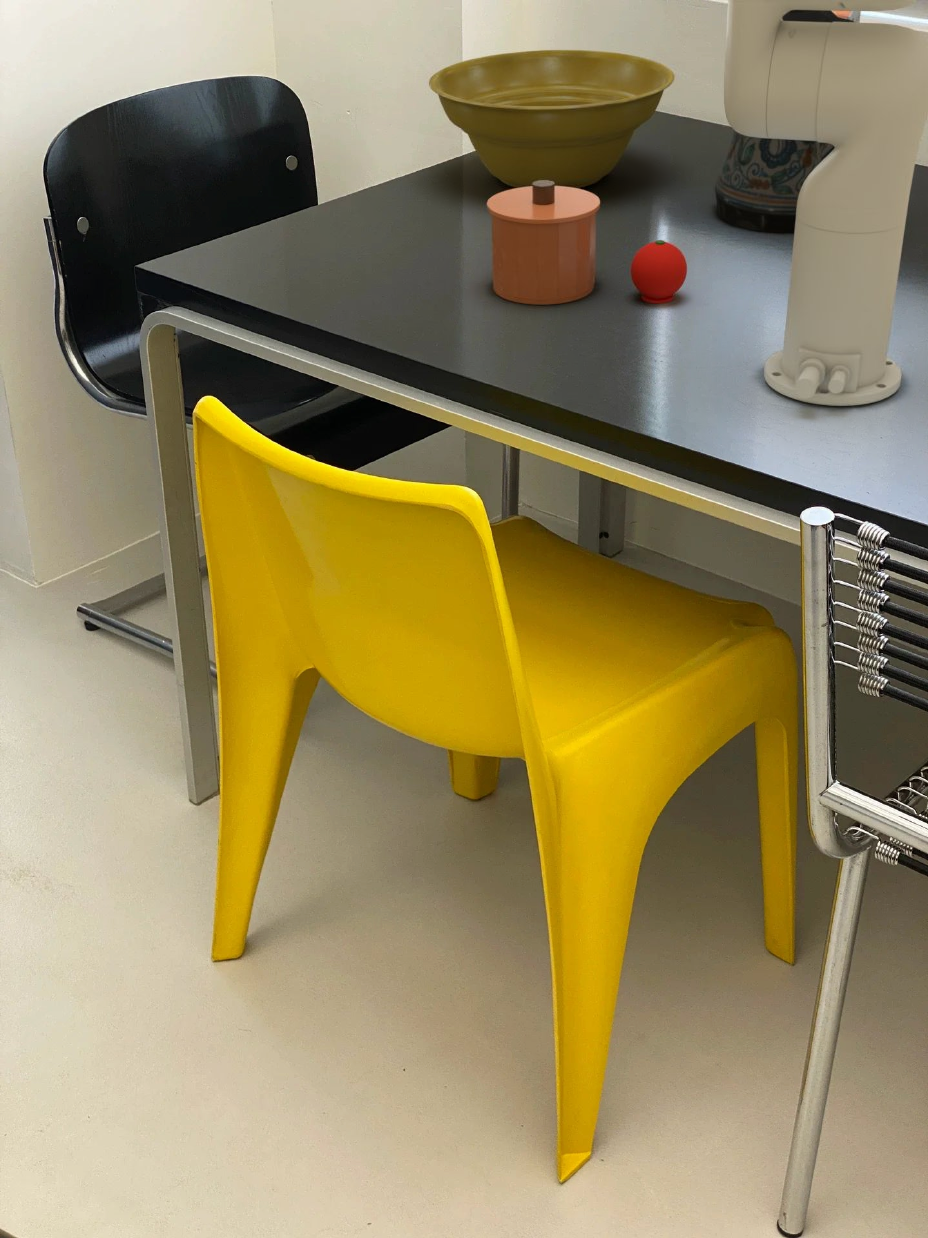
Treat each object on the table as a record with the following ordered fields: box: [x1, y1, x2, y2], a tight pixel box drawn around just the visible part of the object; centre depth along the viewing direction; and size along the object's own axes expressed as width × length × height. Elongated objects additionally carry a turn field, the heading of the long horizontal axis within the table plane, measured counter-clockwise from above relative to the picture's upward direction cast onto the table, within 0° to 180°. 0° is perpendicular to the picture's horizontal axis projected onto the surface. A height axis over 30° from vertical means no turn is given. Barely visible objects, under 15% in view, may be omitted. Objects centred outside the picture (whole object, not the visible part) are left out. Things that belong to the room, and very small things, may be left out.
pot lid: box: [486, 180, 601, 224], centre depth 153 cm, size 12×12×3 cm
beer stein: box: [714, 10, 854, 234], centre depth 170 cm, size 16×19×25 cm
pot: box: [490, 212, 597, 306], centre depth 156 cm, size 11×11×9 cm
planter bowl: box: [428, 49, 675, 189], centre depth 190 cm, size 32×32×13 cm
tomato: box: [630, 239, 688, 304], centre depth 153 cm, size 6×6×6 cm
